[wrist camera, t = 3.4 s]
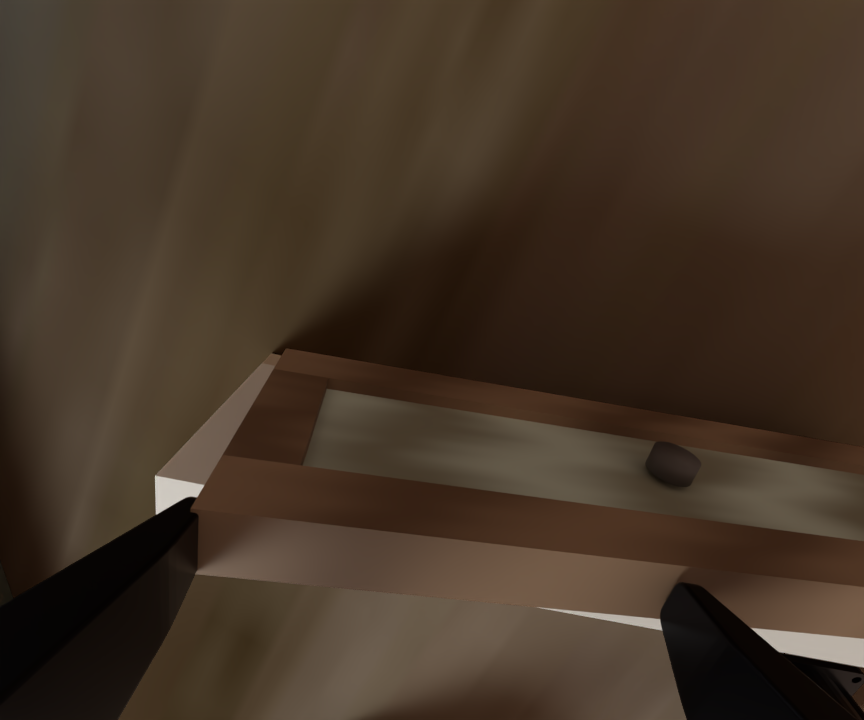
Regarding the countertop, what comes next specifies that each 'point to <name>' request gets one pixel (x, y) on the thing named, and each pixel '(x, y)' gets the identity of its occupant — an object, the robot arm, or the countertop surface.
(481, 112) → the countertop surface
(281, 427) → the picture frame
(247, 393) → the long wooden tray
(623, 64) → the countertop surface
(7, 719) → the robot arm
